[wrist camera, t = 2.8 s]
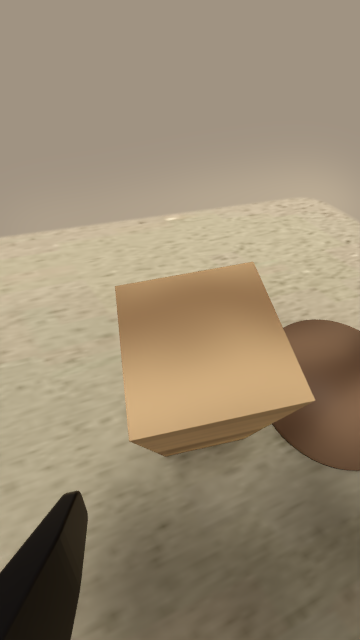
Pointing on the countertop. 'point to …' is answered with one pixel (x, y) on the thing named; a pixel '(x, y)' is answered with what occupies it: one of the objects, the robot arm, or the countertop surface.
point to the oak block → (204, 360)
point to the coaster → (326, 393)
